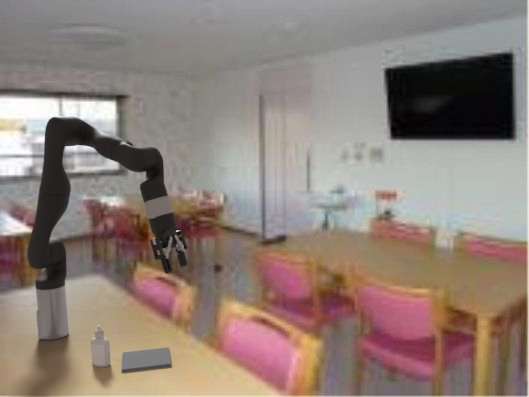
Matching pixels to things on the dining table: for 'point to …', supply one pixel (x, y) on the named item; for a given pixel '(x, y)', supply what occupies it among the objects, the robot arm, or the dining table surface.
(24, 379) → the dining table surface
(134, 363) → the slate mat
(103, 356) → the eye dropper bottle
